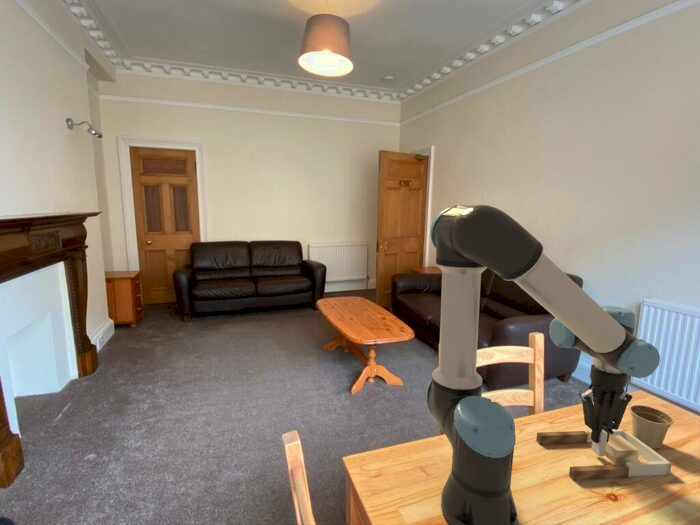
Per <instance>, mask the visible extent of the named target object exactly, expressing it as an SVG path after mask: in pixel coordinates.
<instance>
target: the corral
mask: <svg viewBox="0 0 700 525" xmlns="http://www.w3.org/2000/svg"><path fill="white" fill-rule="evenodd" d="M612 431H613V432H614V433H613V434H609V436H618V435H620V436H621V437H623V438H624V439H625V440H626V441H628V442H629V443H630V444H632V445H633V446H634V447H636V448H637V449H638V450H639V454H638V455H640V456H641V457H643V458H644V459H645V460H647V461H637V462H626V464H625V466H627V467H628V468H629V474H628V477H642V476H643V477H645V476H646V477H647V476H665V475H671V468H672V462H670V461H669V460H668V459H666V458H665V457H663V456H662V454H659V453H658V452H656V451H655V449H651V448H650V447H648V446H647V445H646V444H644V443H643V442H641V441H640V440H639V439H637V438H636V437H634V436H633V433H631V432H629V431H628V430H626V429H625V428H618V429H617V430H615V429H613V430H612ZM586 433H587V434H588V440H587V443H592V440H591V433H592V430H591V429H587V431H586Z"/></svg>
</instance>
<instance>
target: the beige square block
mask: <svg viewBox="0 0 700 525" xmlns="http://www.w3.org/2000/svg"><path fill="white" fill-rule="evenodd" d="M639 455H640V454H639V450H638V449H637V448H636V447H634V446H633V445H632V444H630V443H629V442H628V441H626V440H625V439H624V438H623V437H621V436H620V435H618V436H609V441H608V443H606V449H605V456H604V457H606V458H607V459H608V460H609V461H610V462H612V463H613V465H620V464H624V465H626V462H639V461H638V459H639Z"/></svg>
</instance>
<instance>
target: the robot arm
mask: <svg viewBox="0 0 700 525" xmlns="http://www.w3.org/2000/svg"><path fill="white" fill-rule="evenodd" d="M429 231H430V234H429V235H430V240H431V243H432V244H433V247H434V248H435V265H436V267H438V268H439V270H441V292H440V293H441V297H440V300H441V301H440V323H439V324H440V325H439V351H438V352H439V354H438V355H439V356H438V366H437V368H435V369H434V370H433V371H432V374H431V380H429V381H428V383H427V385H426V388H425V402H426V405H427V407H428V410H429V411H430V414H431V415H432V417H433V418H434V419H435V421H436V422H437V424H438V425H439V427H440V428H441V430H442V432H443V434H444V435H445V436H446V439H448V441H449V444H450V445H451V448H452V449H451V450H452V456H451V460H452V461H451V472H450V474H449V476H448V478H447V480H446V482H445V484H444V486H443V489H442V490H441V497H440V498H441V499H440V500H441V501H440V507H441V513H442V514H443V517H444V518H445V520H446V522H447V523H448V525H517V524H518V511H517V508H516V504H515V499H514V496H513V493H512V490H511V484H512V472H513V464H514V463H513V462H514V451H515V445H516V440H517V439H516V425H515V424H516V423H515V420H514V418H513V416H512V414H511V412H509V410H507V408H505V407H504V406H503V405H502V404H501V403H499V402H497V401H492V399H491V398H487V397H485V396H482V394H483V378H482V376H481V375H480V374H479V373H478V372H477V356H478V354H477V353H478V339H479V338H478V336H479V320H480V319H479V317H480V316H479V315H480V299H481V282H482V281H481V280H482V273H483V272H484V271H485V270H487V269H489V270H491V271H493V272H494V273H496V275H498V276H499V277H500V278H501V279H503V280H504V281H508V282H510V281H512V282H514V283H515V284H516V285H518V287H520V289H522V290H523V291H524V292H525V293H527V294H528V296H530V297H531V298H532V299H533V300H534V301H536V302H537V303H538V304H540V306H542V307H543V308H544V309H545V310H546V311H547V312H548V313H550V314H551V315H552V316H553V317H554V318H553V319H552V320H551V322H550V324H549V337H550V339H551V341H552V343H553V344H554V345H555V346H557V347H558V348H562V349H563V348H564V349H565V348H566V349H576V350H579V351H581V352H582V353H585V354H587V355H588V356H591V363H592V364H591V365H590V371H589V372H590V374H589V378H590V385H588V390H586V391H585V392H584V391H580V392H579V393H578V395H579V397H580V399H581V402H582V404H581V405H582V412H583V419H584V425H585V426H587V428H589V430H592V433H591V440H592V442H591V451H593V453H595V455H597V456H598V457H606V456H605V449H606V443H608V441H609V434H613V433H614V432H613V431H612V430H613V429H615V430H617V429H620V428H619V427H620V425H621V422H622V420H623V417H624V415H625V412H626V410H627V406H628V404H629V403H630V402H631V400H632V399H633V395H632V394H630V393H628V392H626V391H625V387H626V386H627V382H628V381H627V380H628V376H631V377H632V378H636V379H645V378H647V377H649V376H651V375H652V374H654V372H655V370H657V369H658V367H659V365H660V363H661V355H660V352H659V350H658V349H657V347H656V346H655V345H653V344H651V343H649V342H647V341H646V340H644V339H642V338H637V337H635V336H634V332H635V330H636V325H635V324H636V323H635V322H636V315H635V313H634V312H633V310H630V309H628V308H626V307H625V308H624V307H621V306H614V305H604V306H601V305H599V303H597V301H596V300H594V299H593V298H592V297H591V296H590V295H589V294H588V293H587V292H585V290H584V289H583V288H582V287H580V286H579V285H578V284H577V283H575V281H574V280H572V278H570V277H569V276H568V275H567V274H566V273H565V272H564V271H563V270H562V269H561V268H560V267H559V266H557V264H556V263H554V262H553V261H552V260H551V259H550V258H549V257H548V256H547V255H546V254H545V253H544V252H545V251H544V246H543V244H542V243H541V242H540V241H539V240H538V239H537V238H536V237H535V236H534V235H533V234H531V233H530V232H529V231H528V230H527V229H526V228H525V227H523V226H522V224H521V223H519V222H518V221H517V220H515V219H514V218H513V217H511V215H509V214H507V213H506V212H504V211H503V210H501V209H499V208H497V207H494V206H492V205H487V204H486V205H485V204H478V205H466V204H465V205H463V204H460V205H454V206H451V207H448V208H446V209H444V210H442V211H441V212H440V213H439V214H438V215H437V216H435V218H434V220H433V221H432V223H431V227H430V230H429Z"/></svg>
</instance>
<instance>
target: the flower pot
mask: <svg viewBox="0 0 700 525" xmlns="http://www.w3.org/2000/svg"><path fill="white" fill-rule="evenodd" d="M629 411H630V413H631V414H630V415H631V419H632V420H631V422H632V435H633V436H634V437H636V438H637V439H639V440H640V441H641V442H643V443H644V444H646V445H647V446H648V447H650V448H651V449H652V450H656V449H661V448H662V446H663V443H664V441H665V438H666V435H667V432H668V429H669V428H671V425H673V424H674V423H675V421H674V418H673V417H672V416H671V415H669V414H668V413H667V412H664V411H662V410H660V409H658V408H655V407H652V406H648V405H642V404H632V405H631V406H629Z"/></svg>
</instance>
